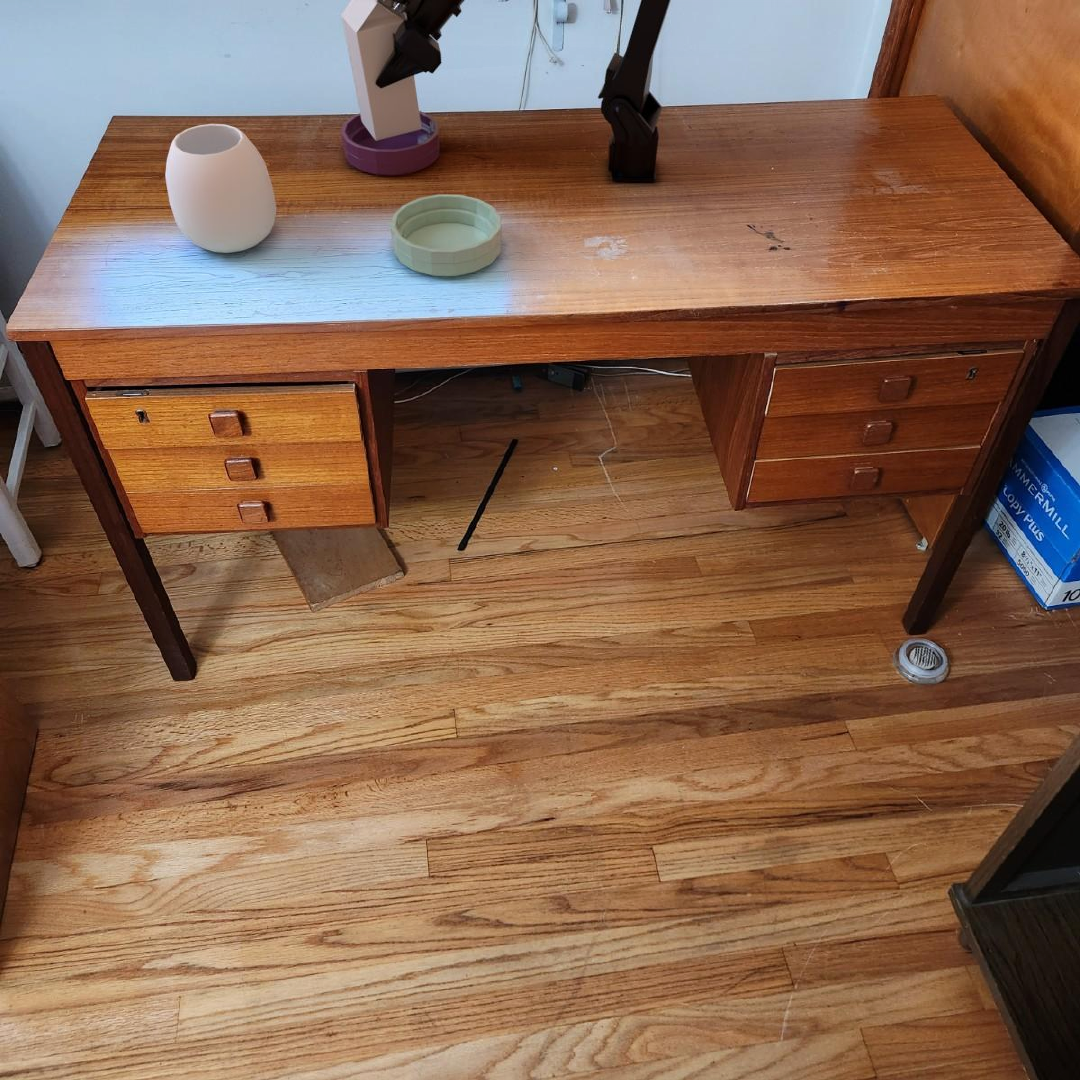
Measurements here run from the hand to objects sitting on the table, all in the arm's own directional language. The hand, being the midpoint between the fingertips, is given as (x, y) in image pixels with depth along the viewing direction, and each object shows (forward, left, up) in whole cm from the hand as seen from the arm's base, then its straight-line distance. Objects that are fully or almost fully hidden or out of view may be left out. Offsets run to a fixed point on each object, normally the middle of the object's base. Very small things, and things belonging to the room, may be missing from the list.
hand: (376, 73), depth 136 cm
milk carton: (-1, 0, -8) cm, 8 cm away
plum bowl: (-1, 0, -12) cm, 12 cm away
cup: (+18, +24, -12) cm, 32 cm away
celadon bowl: (-11, +26, -12) cm, 31 cm away
